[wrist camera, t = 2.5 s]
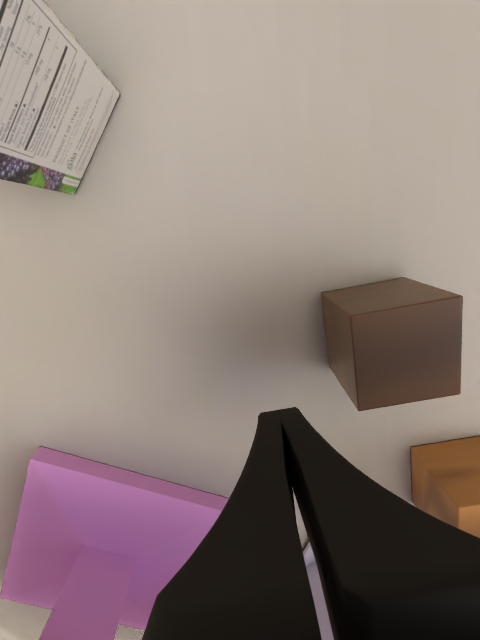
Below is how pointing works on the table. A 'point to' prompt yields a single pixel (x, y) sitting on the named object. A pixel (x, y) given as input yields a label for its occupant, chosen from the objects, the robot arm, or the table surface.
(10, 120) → the syrup box
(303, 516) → the robot arm
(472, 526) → the oak block
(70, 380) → the table surface
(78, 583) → the purple pedestal chair
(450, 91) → the table surface
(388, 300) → the walnut block
